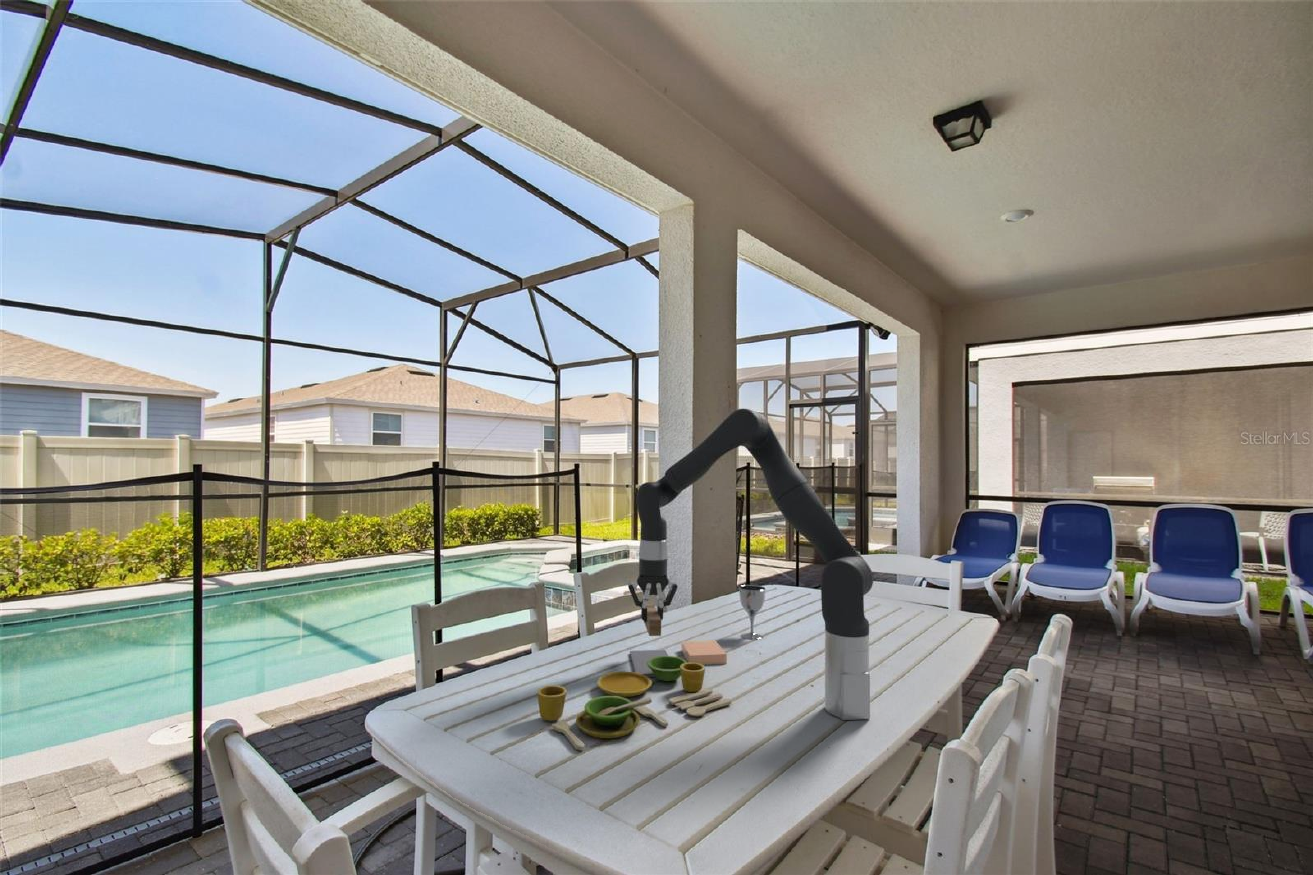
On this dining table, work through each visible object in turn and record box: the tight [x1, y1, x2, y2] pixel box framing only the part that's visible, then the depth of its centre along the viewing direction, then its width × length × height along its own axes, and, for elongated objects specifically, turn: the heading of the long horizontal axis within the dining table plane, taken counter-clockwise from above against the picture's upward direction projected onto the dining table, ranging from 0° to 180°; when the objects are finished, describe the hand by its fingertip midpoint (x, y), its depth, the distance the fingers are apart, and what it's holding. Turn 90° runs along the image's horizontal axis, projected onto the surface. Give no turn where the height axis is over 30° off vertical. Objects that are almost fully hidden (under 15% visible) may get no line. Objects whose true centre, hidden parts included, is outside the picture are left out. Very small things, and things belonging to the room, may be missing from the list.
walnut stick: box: [644, 605, 662, 637], centre depth 157 cm, size 14×3×4 cm, turn 7°
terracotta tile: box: [680, 640, 728, 666], centre depth 163 cm, size 3×10×12 cm
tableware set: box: [536, 655, 732, 751], centre depth 130 cm, size 41×28×6 cm
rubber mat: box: [629, 649, 669, 678], centre depth 156 cm, size 18×10×1 cm, turn 7°
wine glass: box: [738, 584, 766, 641], centre depth 183 cm, size 8×8×15 cm
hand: (652, 621), depth 157 cm, fingers closed on walnut stick, 3 cm apart
